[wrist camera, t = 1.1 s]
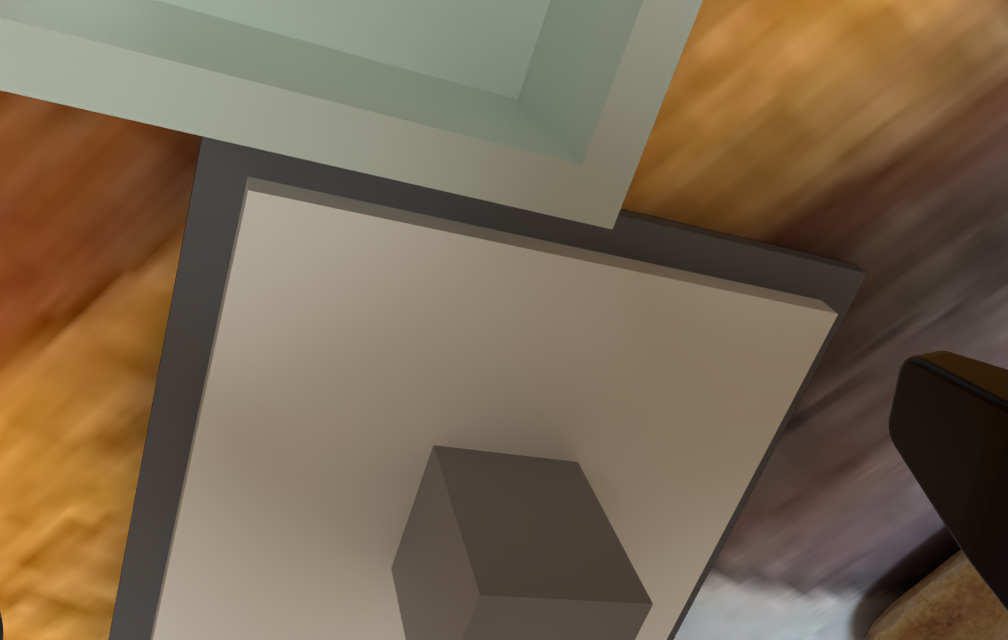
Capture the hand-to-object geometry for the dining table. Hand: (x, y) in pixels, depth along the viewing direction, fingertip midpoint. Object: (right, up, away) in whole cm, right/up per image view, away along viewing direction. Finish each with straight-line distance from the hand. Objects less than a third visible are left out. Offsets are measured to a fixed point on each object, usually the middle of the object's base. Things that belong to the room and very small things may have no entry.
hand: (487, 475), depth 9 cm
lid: (-1, -3, +16) cm, 16 cm away
